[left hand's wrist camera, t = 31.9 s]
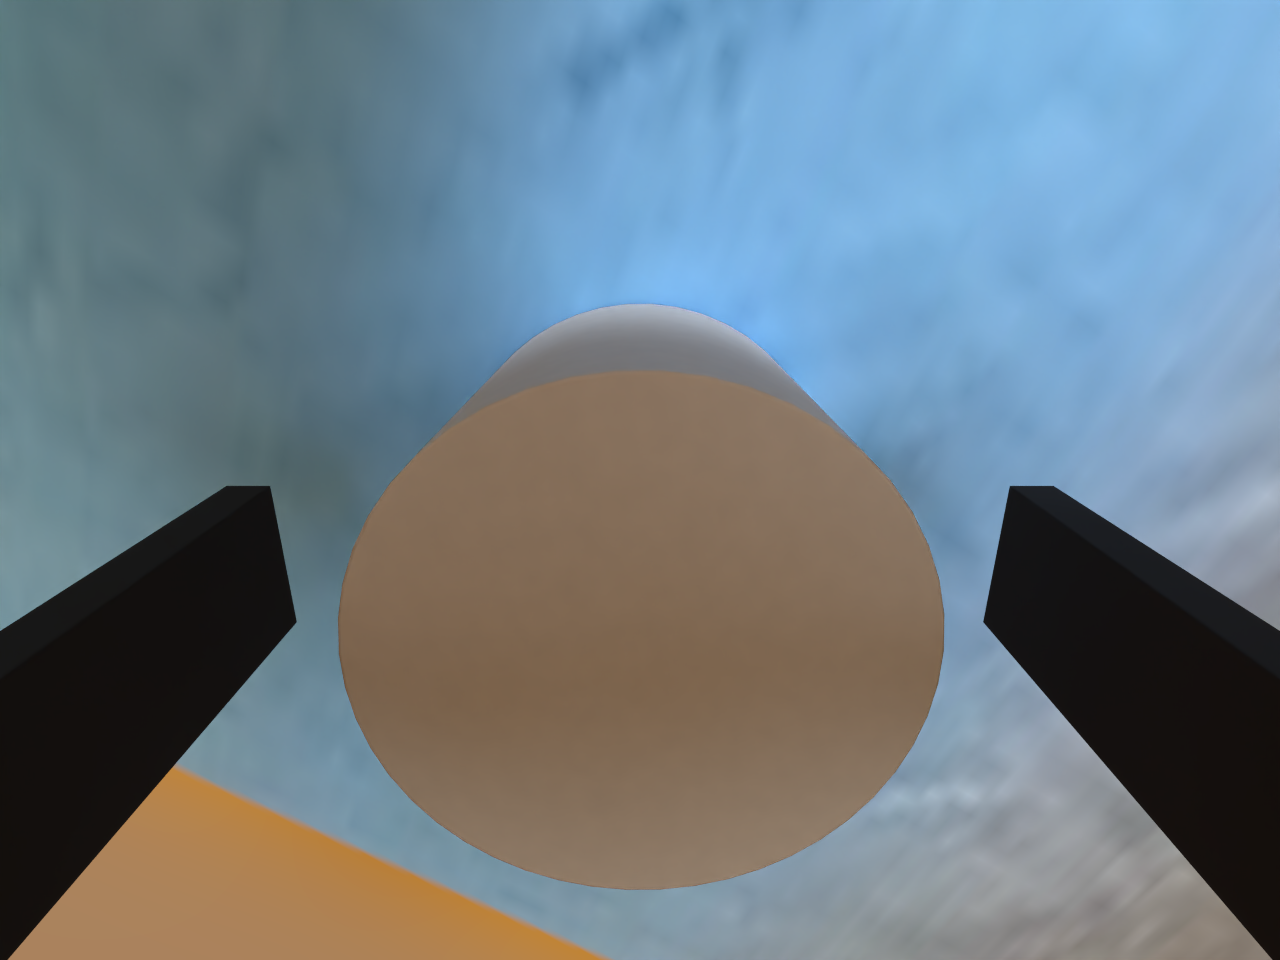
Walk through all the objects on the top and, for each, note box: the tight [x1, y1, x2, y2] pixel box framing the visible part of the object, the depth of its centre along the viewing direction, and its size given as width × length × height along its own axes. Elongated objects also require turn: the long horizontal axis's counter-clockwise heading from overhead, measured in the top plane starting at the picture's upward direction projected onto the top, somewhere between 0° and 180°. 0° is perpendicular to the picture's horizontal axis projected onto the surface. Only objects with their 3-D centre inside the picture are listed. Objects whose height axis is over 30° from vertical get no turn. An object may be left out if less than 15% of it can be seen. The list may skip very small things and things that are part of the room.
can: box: [338, 304, 944, 890], centre depth 13 cm, size 8×8×7 cm
